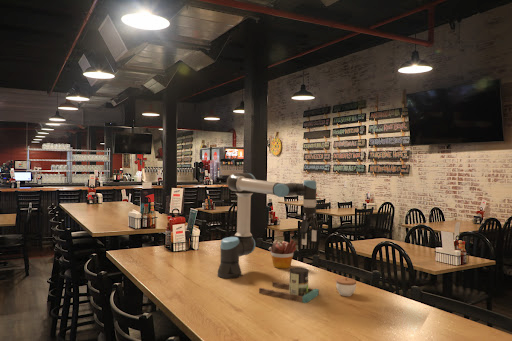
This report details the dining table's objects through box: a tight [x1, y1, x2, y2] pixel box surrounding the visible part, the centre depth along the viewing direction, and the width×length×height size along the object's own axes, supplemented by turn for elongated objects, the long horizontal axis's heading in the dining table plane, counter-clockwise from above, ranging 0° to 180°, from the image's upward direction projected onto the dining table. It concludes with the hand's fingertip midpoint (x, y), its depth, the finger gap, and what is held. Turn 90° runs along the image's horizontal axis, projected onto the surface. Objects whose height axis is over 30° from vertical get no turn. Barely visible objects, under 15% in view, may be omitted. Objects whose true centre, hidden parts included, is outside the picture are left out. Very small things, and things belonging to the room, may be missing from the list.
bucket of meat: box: [268, 239, 297, 269], centre depth 272 cm, size 20×16×20 cm
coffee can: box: [288, 266, 309, 296], centre depth 210 cm, size 10×10×14 cm
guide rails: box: [258, 281, 320, 303], centre depth 213 cm, size 28×16×2 cm, turn 58°
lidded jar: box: [335, 276, 357, 297], centre depth 214 cm, size 11×11×9 cm
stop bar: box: [301, 288, 320, 304], centre depth 206 cm, size 2×16×3 cm, turn 148°
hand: (309, 242), depth 230 cm, fingers open, 13 cm apart
